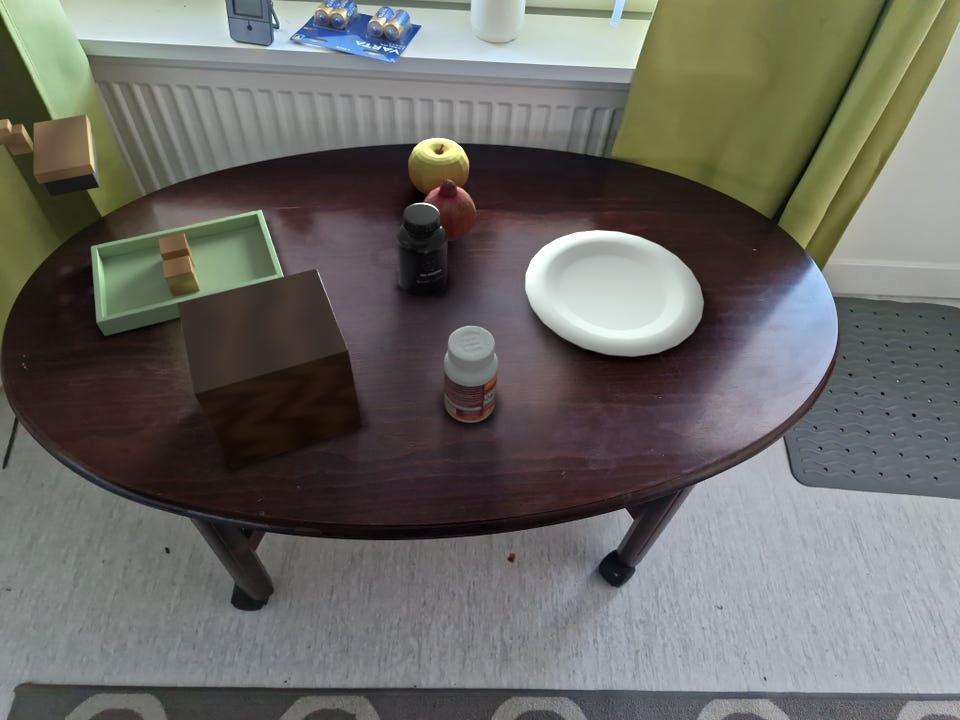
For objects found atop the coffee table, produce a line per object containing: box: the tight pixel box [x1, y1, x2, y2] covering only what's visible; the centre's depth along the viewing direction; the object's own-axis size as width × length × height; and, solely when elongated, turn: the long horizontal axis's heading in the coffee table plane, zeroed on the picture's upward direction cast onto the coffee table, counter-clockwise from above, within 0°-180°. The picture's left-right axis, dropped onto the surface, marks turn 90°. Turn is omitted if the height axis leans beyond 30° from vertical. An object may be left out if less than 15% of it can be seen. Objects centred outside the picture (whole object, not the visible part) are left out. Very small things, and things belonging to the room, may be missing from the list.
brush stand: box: [178, 268, 364, 469], centre depth 72 cm, size 15×13×14 cm
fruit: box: [422, 180, 477, 242], centre depth 95 cm, size 8×8×10 cm
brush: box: [0, 114, 100, 198], centre depth 71 cm, size 16×11×6 cm
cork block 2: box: [162, 256, 200, 297], centre depth 88 cm, size 4×4×4 cm
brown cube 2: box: [158, 233, 195, 267], centre depth 91 cm, size 4×4×4 cm
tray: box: [90, 209, 284, 337], centre depth 90 cm, size 24×16×3 cm, turn 113°
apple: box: [407, 137, 470, 196], centre depth 103 cm, size 10×10×8 cm
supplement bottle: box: [395, 202, 449, 298], centre depth 87 cm, size 7×7×12 cm
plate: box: [524, 229, 705, 358], centre depth 91 cm, size 25×25×2 cm
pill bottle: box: [443, 325, 499, 424], centre depth 75 cm, size 6×6×11 cm
